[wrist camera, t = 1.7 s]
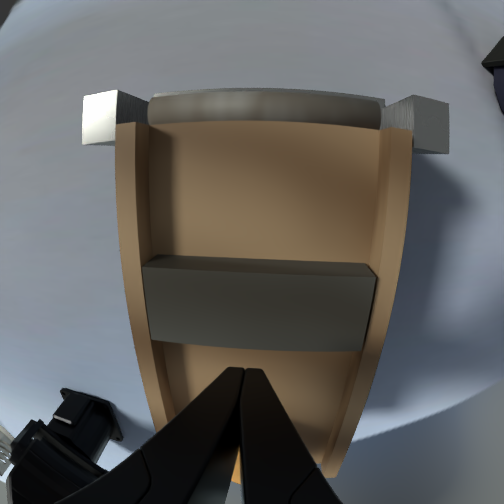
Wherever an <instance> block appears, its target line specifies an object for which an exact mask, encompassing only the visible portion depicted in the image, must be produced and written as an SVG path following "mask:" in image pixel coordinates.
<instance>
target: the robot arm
mask: <svg viewBox="0 0 504 504" xmlns="http://www.w3.org/2000/svg"><path fill="white" fill-rule="evenodd" d="M60 393H61V395H62V397H63V399H64V401H63V402H62V404H61V405H60V406H59V408H58V409H57V410H56V411H55V413H54V414H53V418H52V420H51V421H50V422H49V424H48V425H47V426H46V425H45V424H44V422H43V421H42V420H41V419H39V420H38V422H37V421H34V420H32V419H31V420H30V422H29V423H28V424H27V425H26V427H25V428H24V429H23V430H22V431H21V432H20V434H19V435H18V436H17V437H16V438H15V439H14V440H13V441H12V443H11V444H10V447H11V451H12V452H11V454H10V455H11V457H10V459H9V462H11V463H12V464H13V465H14V467H13V469H12V470H11V472H10V473H9V475H8V477H7V479H6V487H7V498H8V504H225V500H226V497H227V493H228V490H229V486H230V482H231V479H232V475H233V471H234V468H235V464H236V460H237V456H238V452H239V457H240V482H241V503H242V504H343V503H342V502H341V501H340V499H339V498H338V496H337V495H336V494H335V492H334V491H333V489H332V488H331V486H330V485H329V483H328V482H327V480H326V479H325V477H324V475H323V474H322V472H321V471H320V469H319V468H317V464H316V462H315V461H314V459H313V457H312V456H311V454H310V452H309V451H308V449H307V447H306V445H305V444H304V442H303V440H302V439H301V437H300V435H299V433H298V432H297V430H296V428H295V426H294V425H293V423H292V421H291V419H290V418H289V416H288V414H287V412H286V410H285V409H284V407H283V405H282V403H281V402H280V400H279V398H278V396H277V394H276V393H275V391H274V389H273V387H272V385H271V383H270V382H269V380H268V378H267V376H266V374H265V372H264V371H263V369H260V368H246V369H244V368H243V367H231V366H230V367H227V368H226V369H225V370H224V371H223V372H222V373H221V374H220V375H219V376H218V377H217V378H216V379H215V380H214V381H213V382H212V383H210V384H209V385H208V386H207V387H206V388H205V389H204V390H203V391H202V392H201V393H200V394H199V395H198V396H197V397H196V398H195V399H194V400H192V401H191V402H190V403H189V404H188V405H187V406H186V407H185V408H184V409H183V410H182V411H181V412H179V413H178V414H177V415H176V416H175V417H174V418H173V419H172V420H171V421H169V422H168V423H167V424H166V425H165V426H164V427H163V428H162V429H160V430H159V431H158V432H157V433H156V434H155V435H154V436H152V437H151V438H150V439H149V440H148V441H147V442H146V443H144V444H143V445H142V446H141V447H140V449H141V450H140V449H137V450H136V451H135V452H134V453H132V454H131V455H130V456H129V457H128V458H126V459H125V460H124V461H123V462H121V463H120V464H119V465H117V466H116V467H115V468H113V469H112V470H111V471H107V470H106V469H105V470H104V469H103V468H101V467H100V466H98V465H97V464H96V463H97V461H98V460H99V458H100V456H101V454H102V452H103V450H104V448H105V446H106V445H107V443H108V441H109V439H113V440H116V441H120V442H121V441H122V440H123V436H122V433H121V431H120V429H119V426H118V424H117V421H116V419H115V416H114V414H113V411H112V408H111V406H110V404H109V403H108V402H107V401H105V400H101V399H97V398H94V397H90V396H87V395H84V394H80V393H77V392H74V391H71V390H68V389H65V388H62V389H61V390H60ZM33 438H34V439H33Z"/></svg>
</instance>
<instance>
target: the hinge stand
mask: <svg viewBox="0 0 504 504" xmlns="http://www.w3.org/2000/svg"><path fill="white" fill-rule="evenodd" d="M235 91H267V92H294V93H310V94H323V95H333V96H342V97H351V98H358V99H366V100H372V101H377V102H378V103H379V105H380V108H381V125H380V129H379V130H382V129H385V128H389V127H394V128H400V129H406V130H411V131H412V154H449V104H448V103H445V102H441V101H437V100H433V99H429V98H425V97H421V96H417V95H411V96H409V97H407V98H405V99H402V100H400V101H398V102H396V103H394V104H391V105H389V106H387V107H385V99H380V98H374V97H367V96H361V95H353V94H345V93H336V92H326V91H315V90H300V89H280V88H224V89H203V90H188V91H177V92H167V93H158V94H154V97H159V96H169V95H179V94H192V93H207V92H235ZM148 105H149V102H147V101H145V100H142V99H140V98H137V97H135V96H132V95H130V94H127V93H124V92H122V91H119V90H114V91H109V92H104V93H99V94H95V95H90V96H86V97H84V107H83V128H82V145H108V146H115V128H116V124H123V123H131V122H138V123H142V124H146V125H149V122H148Z"/></svg>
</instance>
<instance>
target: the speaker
mask: <svg viewBox="0 0 504 504" xmlns="http://www.w3.org/2000/svg"><path fill="white" fill-rule="evenodd" d="M481 64H482V65H483V67H491V66H494V88H495V91H496V94H497V97H498V100H499V103H500V107H501V109H502V110H503V112H504V36H503V37H502V38H501V40H500V41H499V42H498V43H497V45H496V46H495V47H494V48H493V49H492V51H491V52H490V53H489V54H488V55H487V57H486V58H485V59H484V60H483V61H482V63H481Z"/></svg>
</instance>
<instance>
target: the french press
mask: <svg viewBox="0 0 504 504" xmlns="http://www.w3.org/2000/svg"><path fill="white" fill-rule="evenodd" d="M13 440H14V437H13V436H12V435H11V434H10V433H9V432H8V431H7V430H6V429H4V428H3V427H2V426H1V425H0V451H2V452H3V453H2V452H0V459H2V460H5V462H6V463H4V462H3V461H1V460H0V475H1V476H2V475H3V474H4V472H5V471H6V470H7V468H8V467H9V465H10V464H11V462H9V460H8V459H6V457H8V458H9V459H10V457H11V456H10V455H9V453H11V452H12V451H11V447H10V444H11V443H12V441H13ZM5 456H6V457H5Z"/></svg>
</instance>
